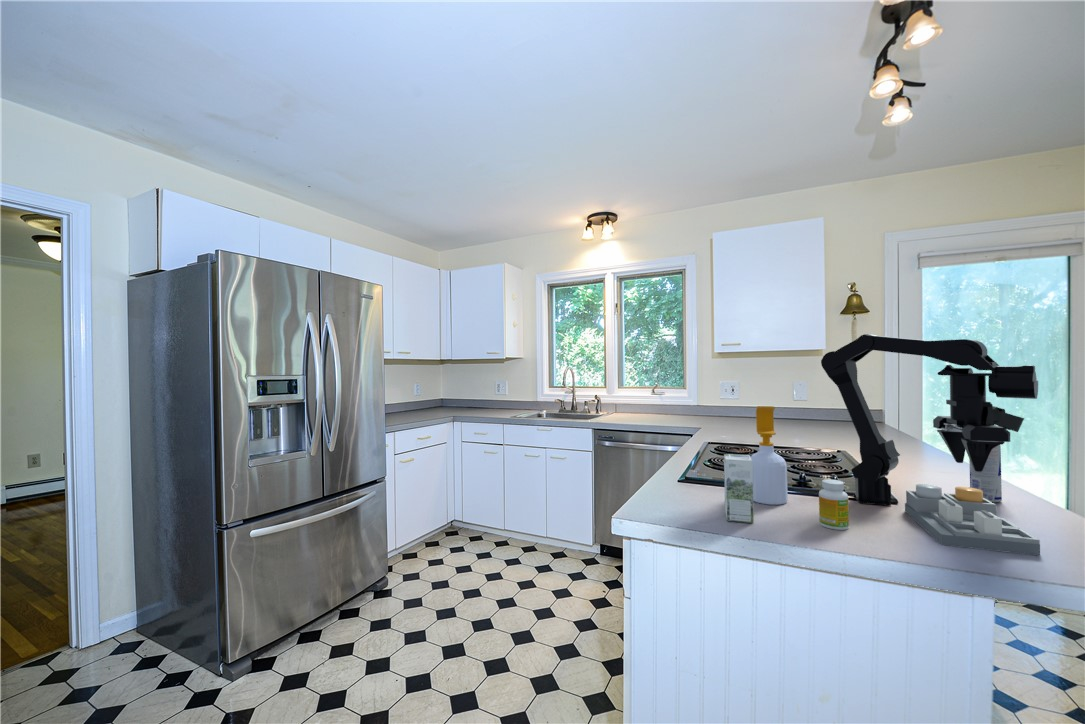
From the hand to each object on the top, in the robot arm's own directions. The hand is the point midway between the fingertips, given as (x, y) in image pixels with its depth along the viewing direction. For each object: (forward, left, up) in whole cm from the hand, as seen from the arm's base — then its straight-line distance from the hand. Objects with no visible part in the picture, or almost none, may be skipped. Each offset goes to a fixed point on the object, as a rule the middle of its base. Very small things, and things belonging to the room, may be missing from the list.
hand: (968, 466), depth 98 cm
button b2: (0, 0, -8) cm, 8 cm away
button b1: (-7, 0, -8) cm, 11 cm away
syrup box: (-47, -15, -12) cm, 50 cm away
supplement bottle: (-28, -13, -12) cm, 33 cm away
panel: (-4, -7, -12) cm, 14 cm away
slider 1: (-6, -8, -10) cm, 14 cm away
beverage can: (+10, +19, -12) cm, 25 cm away
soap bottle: (-40, +2, -12) cm, 42 cm away
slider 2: (-3, -14, -10) cm, 17 cm away
